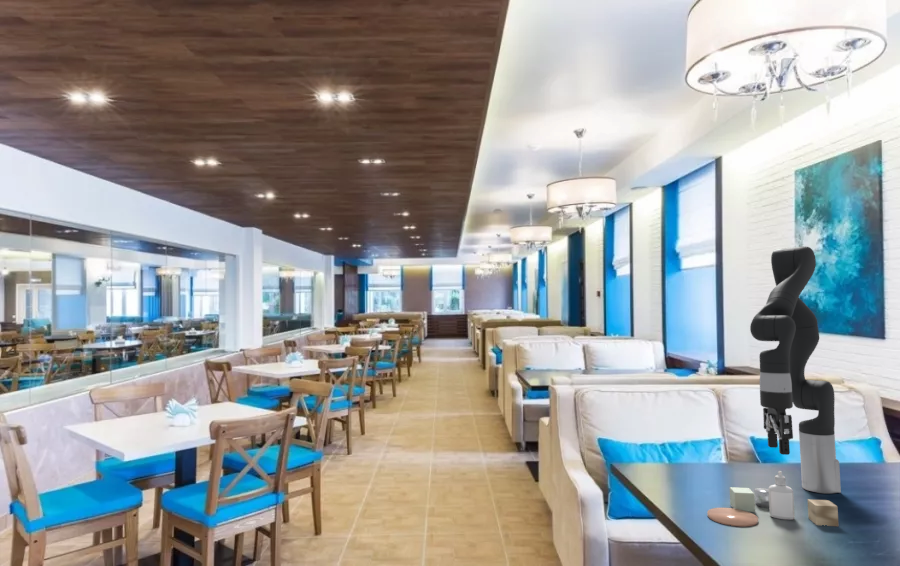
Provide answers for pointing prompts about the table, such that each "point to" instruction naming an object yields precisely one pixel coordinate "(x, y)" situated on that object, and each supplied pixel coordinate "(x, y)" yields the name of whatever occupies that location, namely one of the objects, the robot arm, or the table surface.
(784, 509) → the eye dropper bottle
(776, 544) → the table surface
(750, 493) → the sage block
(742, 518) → the salmon disc
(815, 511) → the oak block
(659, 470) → the table surface
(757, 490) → the steel puck
